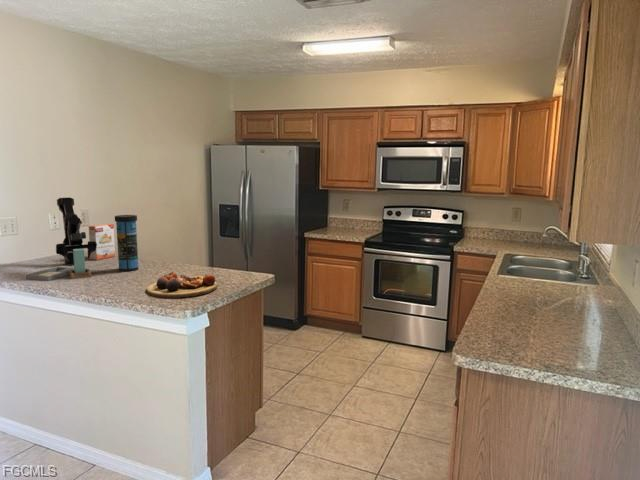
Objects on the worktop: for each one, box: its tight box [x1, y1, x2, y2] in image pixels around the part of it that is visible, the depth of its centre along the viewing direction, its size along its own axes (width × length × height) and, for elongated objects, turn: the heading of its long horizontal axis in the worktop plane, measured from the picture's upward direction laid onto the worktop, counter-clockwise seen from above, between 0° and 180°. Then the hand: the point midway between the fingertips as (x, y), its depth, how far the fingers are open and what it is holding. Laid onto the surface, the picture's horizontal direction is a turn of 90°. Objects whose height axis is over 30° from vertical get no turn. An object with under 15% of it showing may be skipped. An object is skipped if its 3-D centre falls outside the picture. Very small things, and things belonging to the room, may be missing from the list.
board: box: [25, 266, 74, 281], centre depth 235 cm, size 14×20×2 cm
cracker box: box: [88, 223, 116, 261], centre depth 278 cm, size 14×6×21 cm, turn 157°
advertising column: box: [114, 214, 139, 273], centre depth 247 cm, size 11×11×30 cm
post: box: [73, 249, 86, 273], centre depth 233 cm, size 4×4×14 cm
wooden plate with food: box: [146, 271, 218, 299], centre depth 213 cm, size 32×32×8 cm
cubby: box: [68, 268, 92, 280], centre depth 234 cm, size 9×9×2 cm
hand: (79, 260), depth 233 cm, fingers open, 9 cm apart
